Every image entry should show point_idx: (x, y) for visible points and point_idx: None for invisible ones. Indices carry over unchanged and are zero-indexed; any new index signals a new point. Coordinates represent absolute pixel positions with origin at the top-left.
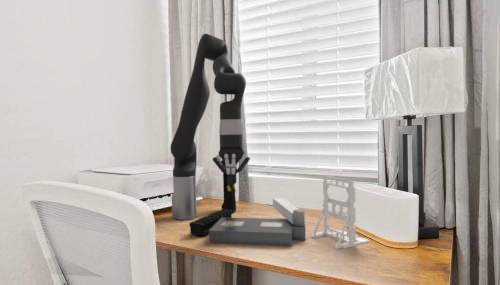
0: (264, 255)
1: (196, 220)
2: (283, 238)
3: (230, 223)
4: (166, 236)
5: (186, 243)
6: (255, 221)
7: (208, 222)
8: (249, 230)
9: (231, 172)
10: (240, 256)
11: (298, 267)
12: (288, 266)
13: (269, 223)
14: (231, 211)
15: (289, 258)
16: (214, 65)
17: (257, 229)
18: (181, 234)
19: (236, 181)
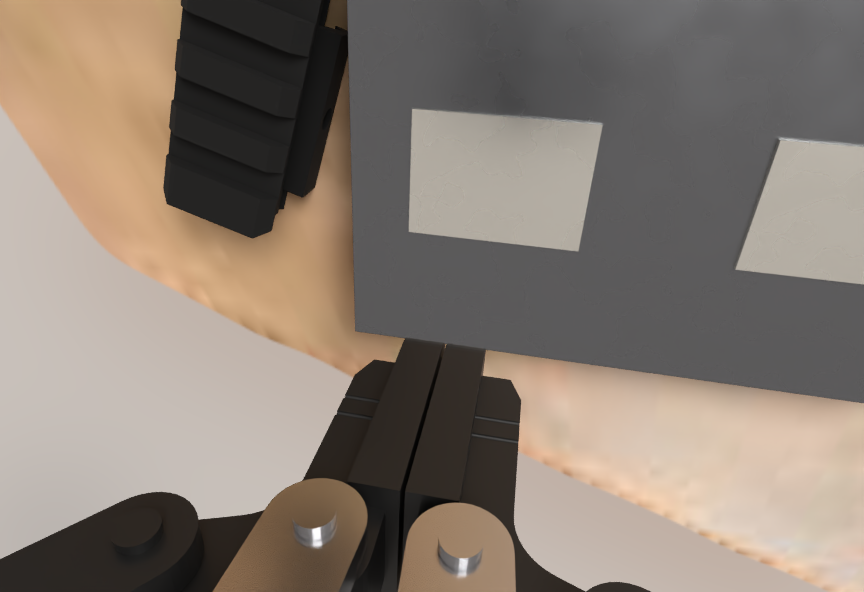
0: (696, 460)
1: (181, 136)
2: None
3: (478, 185)
4: (79, 169)
5: (255, 290)
6: (717, 95)
7: (287, 148)
8: (638, 345)
9: (375, 551)
10: (573, 460)
11: (829, 572)
12: (785, 560)
13: (849, 188)
14: None
15: (820, 499)
16: None
17: (703, 327)
18: (142, 126)
19: (520, 401)
